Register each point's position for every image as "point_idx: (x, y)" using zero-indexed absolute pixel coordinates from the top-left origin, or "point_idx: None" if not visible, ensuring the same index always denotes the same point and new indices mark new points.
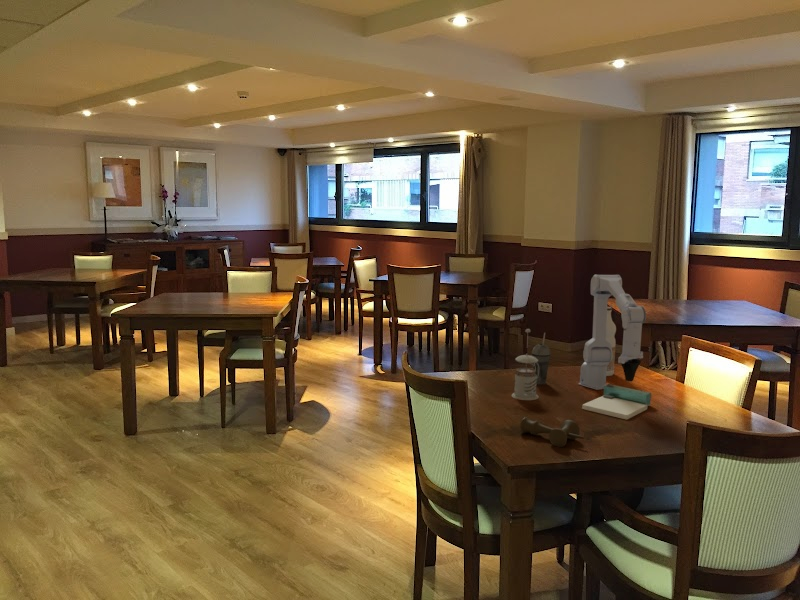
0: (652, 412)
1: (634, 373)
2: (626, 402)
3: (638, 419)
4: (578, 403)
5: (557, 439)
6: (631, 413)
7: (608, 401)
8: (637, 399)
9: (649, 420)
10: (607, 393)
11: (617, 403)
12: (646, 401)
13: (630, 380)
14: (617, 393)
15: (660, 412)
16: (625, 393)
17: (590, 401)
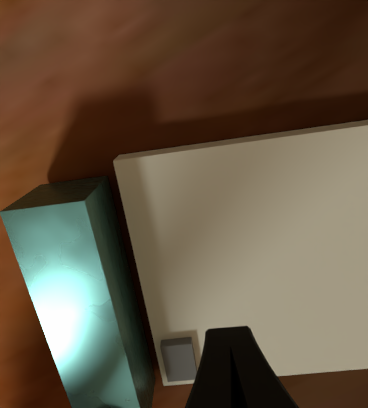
0: (147, 98)
1: (223, 395)
2: (177, 261)
3: (353, 71)
4: (318, 394)
5: None
6: (363, 125)
7: (244, 323)
8: (110, 238)
9: (321, 11)
10: (148, 385)
11: (239, 279)
12: (88, 186)
13: (254, 339)
14: (135, 351)
15: (103, 65)
16: (123, 319)
17: (318, 370)
